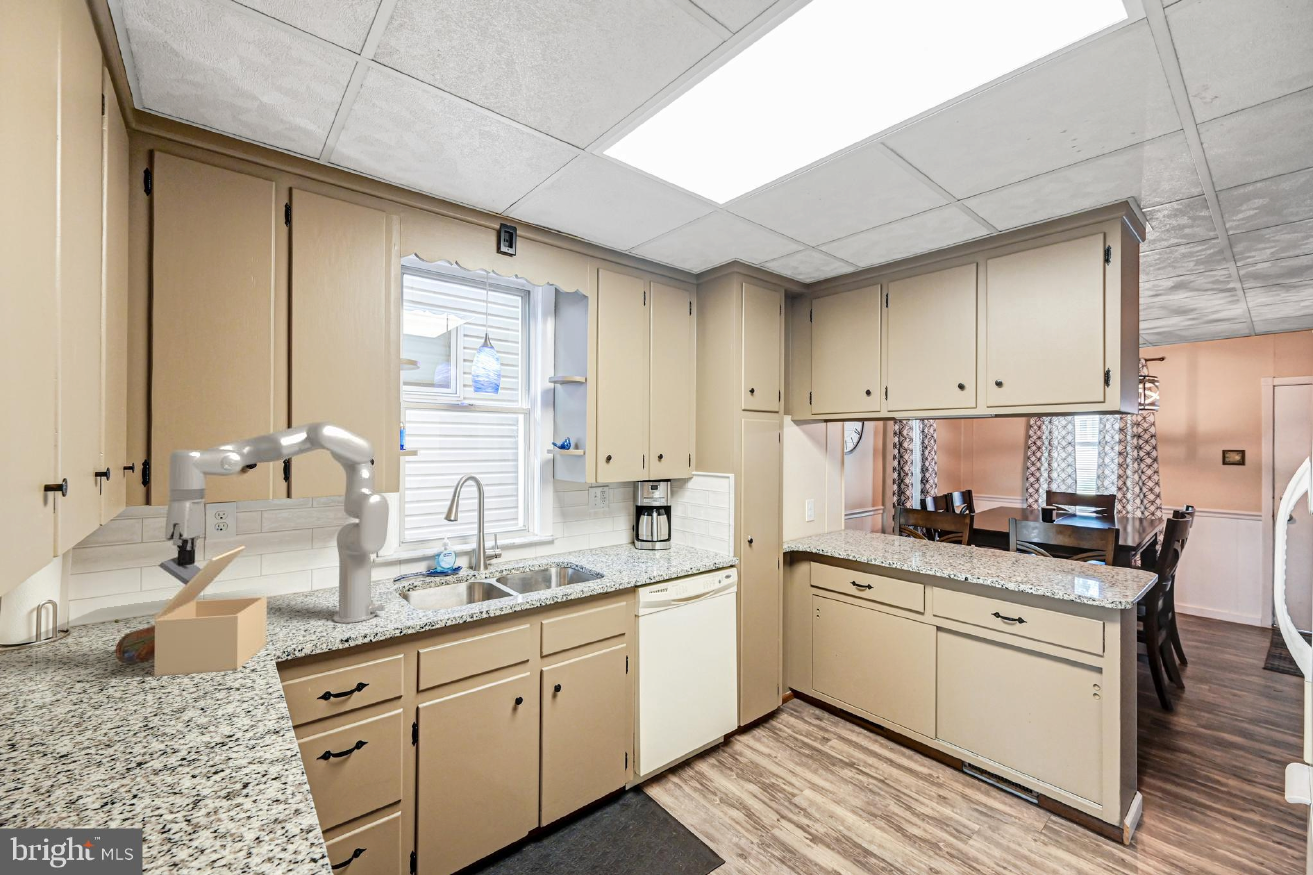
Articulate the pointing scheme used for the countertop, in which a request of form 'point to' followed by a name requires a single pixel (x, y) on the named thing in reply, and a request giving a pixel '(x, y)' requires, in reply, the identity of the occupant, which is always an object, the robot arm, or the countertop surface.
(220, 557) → the lid
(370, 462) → the robot arm
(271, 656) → the countertop surface
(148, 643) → the tin
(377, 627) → the countertop surface
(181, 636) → the carton
